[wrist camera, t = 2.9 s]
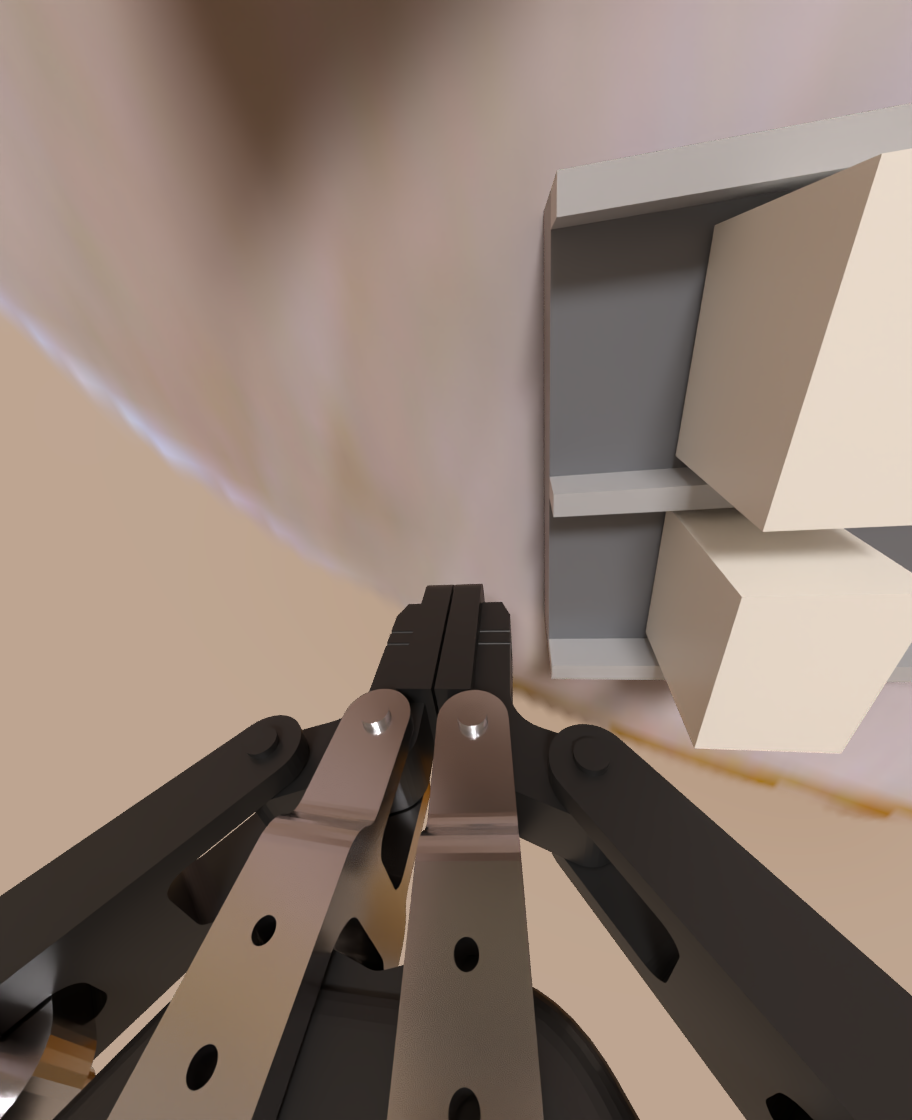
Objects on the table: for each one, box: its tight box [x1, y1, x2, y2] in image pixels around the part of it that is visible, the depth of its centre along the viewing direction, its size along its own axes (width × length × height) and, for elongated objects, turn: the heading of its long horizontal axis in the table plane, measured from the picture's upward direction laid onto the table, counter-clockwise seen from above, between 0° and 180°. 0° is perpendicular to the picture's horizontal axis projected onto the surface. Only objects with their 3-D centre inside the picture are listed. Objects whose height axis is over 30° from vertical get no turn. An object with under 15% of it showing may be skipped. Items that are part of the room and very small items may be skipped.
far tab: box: [646, 508, 912, 754], centre depth 10 cm, size 3×4×4 cm
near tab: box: [676, 148, 912, 532], centre depth 7 cm, size 3×4×4 cm
